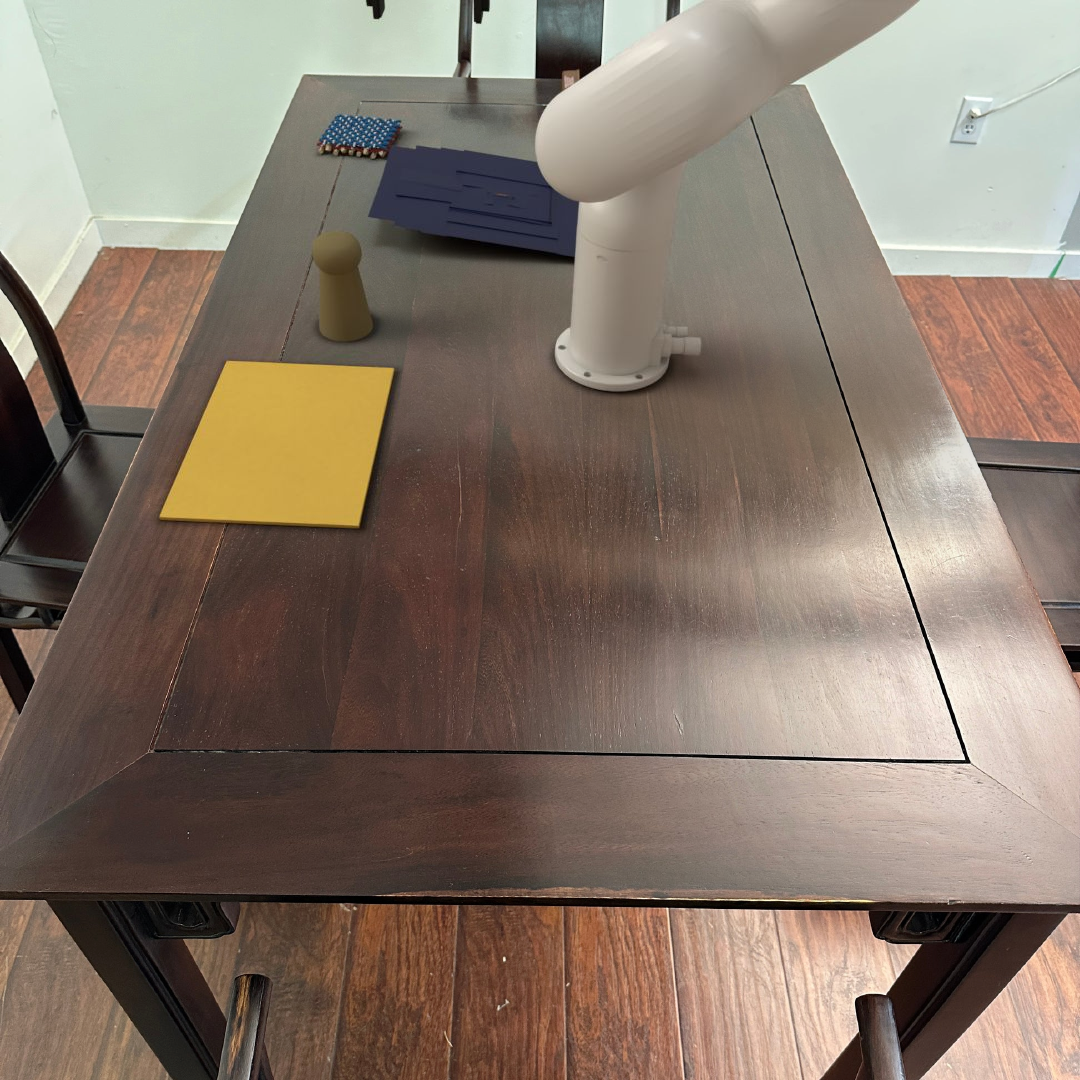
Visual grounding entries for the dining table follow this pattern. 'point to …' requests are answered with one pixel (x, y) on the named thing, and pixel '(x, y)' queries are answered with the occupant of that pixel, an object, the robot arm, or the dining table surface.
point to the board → (283, 446)
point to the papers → (475, 199)
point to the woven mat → (359, 135)
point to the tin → (569, 78)
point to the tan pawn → (341, 287)
